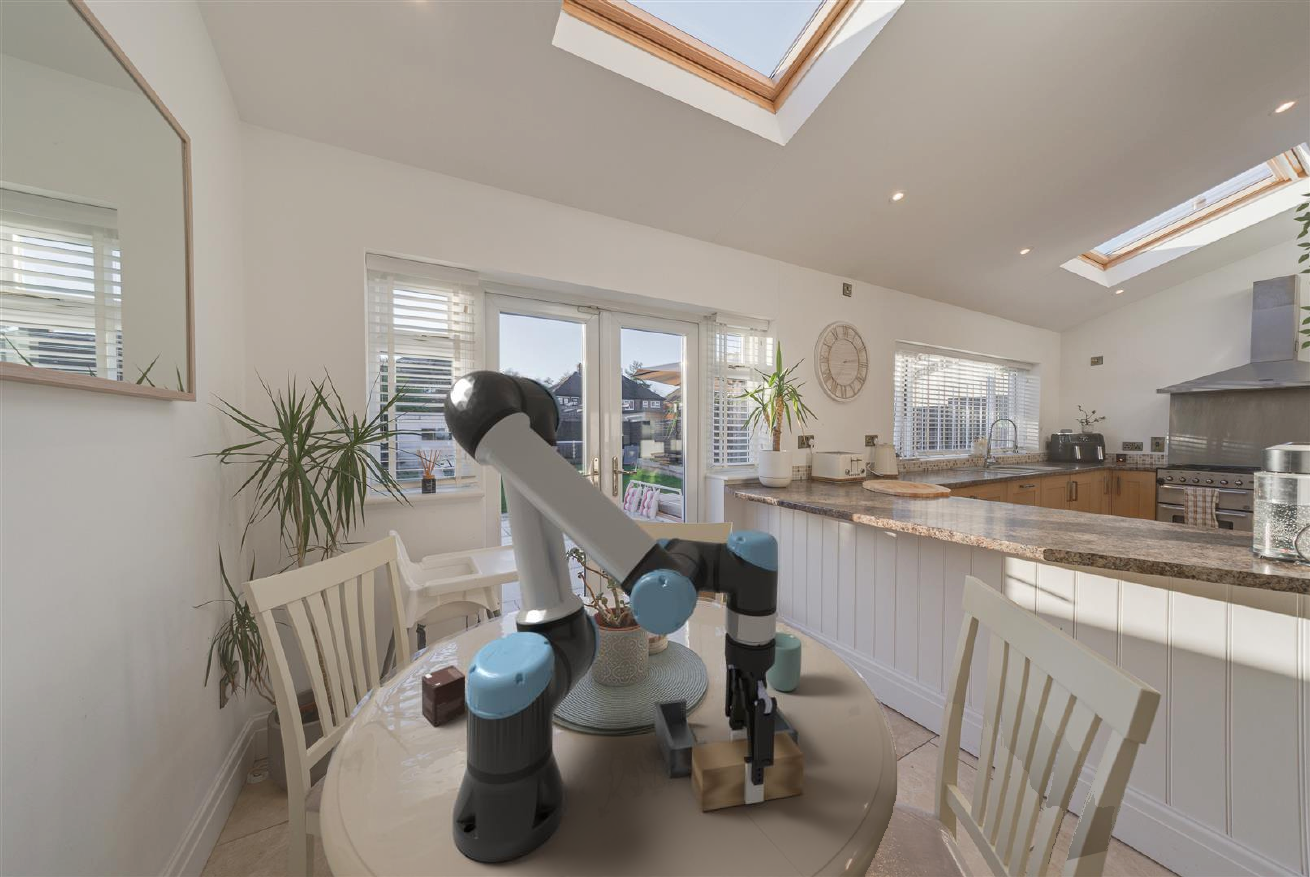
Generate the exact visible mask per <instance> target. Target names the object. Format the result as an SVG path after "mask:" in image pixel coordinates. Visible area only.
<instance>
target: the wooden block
mask: <svg viewBox="0 0 1310 877" xmlns="http://www.w3.org/2000/svg"><path fill="white" fill-rule="evenodd" d="M745 756H748V741H747V738H746V739H738V740H731V739H730V740H725V741H718V742H712V743H711V742H710V743H706V744H703V745H696V746H692V775H691V786H692V789H693V792H694V795H695V797H696V800H697V803H698V806H699V807H700V811H701V812H707V811H712V810H717V809H722V808H728V807H734V806H741V805H747V804H746V803H745V801H744V791H745V761H744V757H745ZM803 784H804V753H803V752H802V750H801V749H800V748H799V747H798V744H797V745H796V744H795V743H794V741H793V740H792V739H791V737H790V736H789V735H788V733H780V734H774V764H773V766H767V767H764V797H763V802H764V801H769V800H774V799H778V798H779V799H780V798H785V797H791V796H797V795H802V794H804V793H803V791H804V790H803V789H804V786H803Z"/></svg>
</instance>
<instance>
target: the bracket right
mask: <svg viewBox="0 0 1310 877" xmlns="http://www.w3.org/2000/svg"><path fill="white" fill-rule="evenodd" d="M769 697H771V696H770V695H769ZM753 702H755V701H753ZM786 716H787V715H785V714H784V713H783V711H782V710H781V709H780V708H779V706H778V705H777V708H776V712H775V728H774V734H780V733H788V735H789V736H790V737H791V739H792V740H793V741H794V743H795V744H796V745H797V746H798V742H799V741H798V740H799V738H798V734H799V733H798V730H797V729H796V728H795V727H794V726H793V724H792V723H791V722H790V720H789V719H788V718H787V717H786ZM743 729H747V727H743Z"/></svg>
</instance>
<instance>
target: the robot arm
mask: <svg viewBox="0 0 1310 877" xmlns="http://www.w3.org/2000/svg"><path fill="white" fill-rule="evenodd" d="M443 403H444V405H443V415H444V421H445V424H446V427H447V428H448V431H449V432H450V434H451V436H452V437H453V439H454V440H455V441H456V443H457V444H458V445H459V446H460V447H461V448H462V449H463V450H464V451H465V453H467V454H468V455H469V456H470V457H471V458H472V459H473V460H474V461H475V462H476V463H477V464H479V465H480V466H482V467H483V466H486V467H488V466H492V468H494V469H495V470H496V471H497V472H498V473H499V474H500V475H501V480H502V485H503V486H502V488H503V491H504V498H505V499H504V500H505V504H506V505H505V506H506V511H507V516H508V517H507V518H508V524H509V529H510V535H511V540H512V541H511V542H512V548H513V554H514V560H515V567H516V572H517V578H518V584H519V585H518V586H519V590H520V598H521V603H522V606H521V608H520V609H519V611H518V612H517V613H516V615H515V617H514V619H515V626H516V632H513V633H509V634H507V635H506V636H505V637H498V638H495V639H493V640H492V641H489V642H488V643H487V644H485V645H484V646H483V647H481V648H480V650H479V651H477V652H476V654H475V655H474V656H473V659H472V660H471V662H470V663H469V664H470V665H469V667H468V671H467V682H466V685H465V702H466V769H465V771H464V775H463V778H462V781H461V784H460V787H459V790H458V792H457V796H456V799H455V802H454V805H453V812H452V838H453V840H454V843H455V845H456V847H457V849H458V850H459V851H460V852H461V853H462V854H464V855H465V856H466V855H467V857H468V858H471V859H472V860H475V861H478V862H484V861H485V862H484V863H499V862H506V861H510V860H513V859H517V858H520V857H523V856H525V855H526V854H528V853H530V852H532V851H534V850H536V848H537V847H539V846H541V845H542V844H543V843H544V842H545V841H546V840H548V838H549V837H550V836H551V835H552V834H553V833H554V831H555V830H556V829H557V827H558V825H559V824H560V822H561V820H562V817H563V814H564V810H565V785H564V784H565V783H564V779H563V777H562V773H561V771H560V768H559V765H558V762H557V759H556V756H555V753H554V751H553V750H554V749H553V746H554V744H553V740H554V738H553V736H554V735H553V734H554V728H553V727H554V714H555V711H557V709H558V708H559V707H560V705H561V704H562V702H563V701H565V699H566V698H567V696H568V695H569V694H570V693H571V692H572V690H573V689H574V688H575V687H576V686H577V684H578V683H579V682H580V680H581V679H582V678H583V677H584V676H585V675H587V673H588V671H590V669H591V667H592V665H593V664H594V661H595V660H596V658H597V655H598V652H599V649H600V645H601V644H600V642H601V640H600V639H601V637H600V636H601V635H600V629H599V627H598V624H597V621H596V620H595V618H594V616H593V615H590V614H589V612H588V610H587V609H585V604H584V600H583V599H582V598H581V597H580V596H578V595H577V594H575V593H574V592H573V587H572V585H573V584H572V581H571V575H570V569H569V568H570V566H569V562H568V556H567V549H566V544H565V543H566V542H565V538H564V535H565V537H567V538H568V539H570V540H571V542H573V544H574V545H576V546H577V548H579V549H580V550H581V551H582V552H583V553H584V554H585V555H586V556H587V557H588V558H589V559H590V560H592V561H593V562H594V564H595V565H597V566H598V567H599V568H600V569H601V570H602V571H604V573H605V574H606V575H608V576H609V577H610V578H611V579H612V581H614V582H615V583H616V584H617V585H618V586H619V587H620V588H621V589H622V590H623V591H624V592H625V593H626V594H627V595H628V596H629V597H630V599H629V606H630V611H631V613H632V617H634V620H635V622H636V623H637V625H639V627H641V628H642V629H643V630H645V631H646V632H648V633H651V634H653V635H657V636H658V635H660V636H666V635H670V634H673V633H676V632H677V631H679V630H680V629H681V628H683V626H685V624H686V622H687V621H688V620H689V618H691V616H692V615H693V613H694V611H695V608H696V607H697V603H698V600H699V597H700V595H701V594H702V593H703V592H704V593H711V594H712V593H713V594H724V595H726V596H725V597H726V600H725V601H726V602H725V614H724V615H725V619H724V622H725V623H724V629H725V632H726V633H725V638H724V658H725V667H726V668H725V670H726V674H725V675H726V677H725V681H726V682H725V703H724V704H725V705H724V713H725V717H726V718H729V719H728V720H729V721H728V725H729V728H730V729H731V730H730V741H731V740H738V739H746V738H747V741H748V756H745V757H744V761H745V791H744V801H745V803H746V804H745V805H749V804H754V803H762V802H764V801H763V797H764V767H767V766H773V764H774V728H775V712H776V708H777V706H778V701H777V698H776V697H775V696H772V697H771V696H770V695H769V694H768V692H767V689H768V681H767V679H766V672H767V671H768V670H769V669H770V668H771V667H772V666H773V665H774V663H775V650H776V640H775V638H774V637H775V635H776V632H777V631H776V630H777V628H776V627H777V617H778V616H779V613H778V611H777V608H778V607H777V604H778V581H779V544H778V541H777V539H776V538H775V536H774V535H772V534H770V533H768V532H765V531H762V530H757V529H755V530H753V529H738V530H734V531H731V532H730V533H729V535H728V537H727V540H726V542H713V541H712V542H711V541H699V540H692V539H690V540H689V539H682V538H679V537H673V538H663V537H661V538H657V539H655V538H653V537H652V536H651V535H650V534H649V533H648V532H647V531H646V530H644V529H643V528H642V527H641V526H640V525H639V524H637V522H636V521H635V520H633V518H631V517H630V516H629V515H628V514H627V513H626V512H625V511H623V509H621V507H619V506H618V505H617V504H616V503H614V502H613V501H612V500H611V499H610V498H609V497H608V496H607V495H606V494H605V493H603V492H602V491H601V490H600V489H599V488H598V487H597V486H596V485H595V484H593V483H592V482H591V481H590V479H587V477H586V476H585V475H584V474H582V473H581V472H580V471H579V470H578V469H577V468H576V467H574V466H573V464H572V463H570V462H569V461H568V460H567V459H566V458H564V457H563V456H562V455H561V454H560V453H559V452H558V451H557V450H558V442H557V434H558V432H559V429H560V428H561V426H562V421H563V410H562V409H563V408H562V405H561V402H560V400H559V398H558V397H557V394H556V393H555V392H554V391H553V390H552V389H551V388H550V387H549V386H547V385H545V384H543V383H541V382H539V381H537V380H535V379H531V378H528V377H524V376H523V377H519V376H515V375H510V374H505V373H500V372H498V371H493V370H487V369H486V370H477V371H476V370H475V371H472V372H469V373H467V374H465V375H463V376H461V377H460V378H458V379H457V380H455V382H454V383H453V384H452V385H451V386H450V388H449V390H448V391H447V393H446V395H445V399H444V402H443ZM769 696H770V697H769ZM753 701H755V702H753ZM743 727H747V729H743Z"/></svg>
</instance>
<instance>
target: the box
mask: <svg viewBox="0 0 1310 877" xmlns="http://www.w3.org/2000/svg"><path fill="white" fill-rule="evenodd" d="M465 713H466V675H465V674H464V673H463V672H461V671H460V670H459V669H458V668H456V666H454V665H453V664H451V665H449V666H447V667H444V668H441V669H439V670H436V671H433V672H429V673H427V674H426V675H423V676H421V714H422V715H423V716H424V718H426V719H427V721H428V722H429V723H430V724H431V725H432V726H433V727H437V726H439V725H441V724H443V723H445V722H447V721H449V720H451V719H454V718H456V717H458V716H461V715H462V714H465Z"/></svg>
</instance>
